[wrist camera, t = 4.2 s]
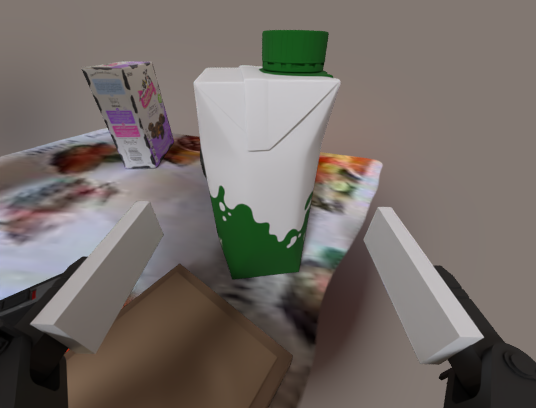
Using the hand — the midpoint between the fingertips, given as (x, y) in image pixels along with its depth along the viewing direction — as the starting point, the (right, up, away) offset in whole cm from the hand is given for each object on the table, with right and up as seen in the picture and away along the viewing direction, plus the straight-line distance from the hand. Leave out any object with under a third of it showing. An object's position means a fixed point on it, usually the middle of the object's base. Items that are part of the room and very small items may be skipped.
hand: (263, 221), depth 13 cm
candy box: (-25, +12, +33) cm, 43 cm away
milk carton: (0, -5, +12) cm, 13 cm away
